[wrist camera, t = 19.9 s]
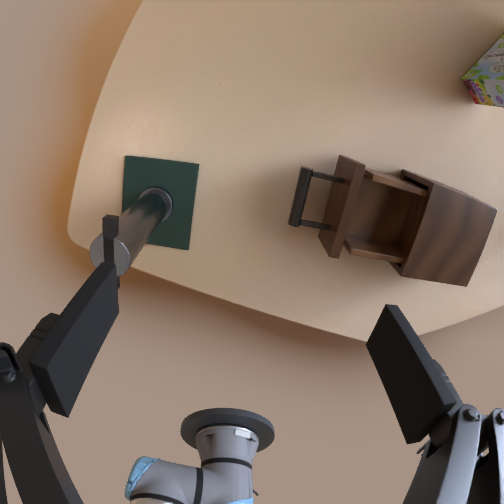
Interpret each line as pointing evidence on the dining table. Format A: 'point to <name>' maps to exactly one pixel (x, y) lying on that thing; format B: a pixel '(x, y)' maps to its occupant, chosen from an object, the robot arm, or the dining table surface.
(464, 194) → the cabinet
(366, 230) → the drawer
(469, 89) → the snack box
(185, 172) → the mat
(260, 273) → the dining table surface
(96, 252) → the silver cylinder
